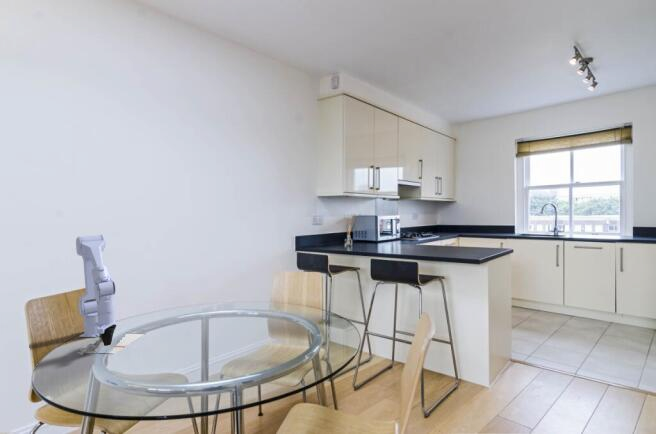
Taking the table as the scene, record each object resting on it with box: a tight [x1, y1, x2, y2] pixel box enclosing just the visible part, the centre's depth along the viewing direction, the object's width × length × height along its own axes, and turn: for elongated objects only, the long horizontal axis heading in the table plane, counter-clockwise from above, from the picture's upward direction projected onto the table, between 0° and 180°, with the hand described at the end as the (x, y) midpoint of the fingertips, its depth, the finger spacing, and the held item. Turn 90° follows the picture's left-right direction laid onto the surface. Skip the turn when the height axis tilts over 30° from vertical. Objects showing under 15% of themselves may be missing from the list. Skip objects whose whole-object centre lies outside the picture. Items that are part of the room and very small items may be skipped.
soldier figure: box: [77, 335, 103, 356], centre depth 138 cm, size 8×5×12 cm
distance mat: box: [84, 332, 147, 355], centre depth 145 cm, size 20×12×1 cm, turn 174°
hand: (107, 344), depth 139 cm, fingers closed
